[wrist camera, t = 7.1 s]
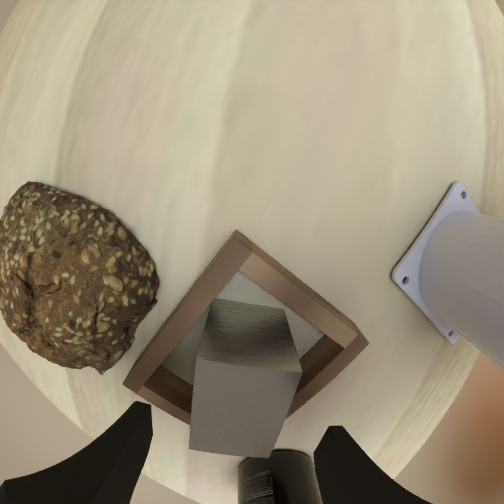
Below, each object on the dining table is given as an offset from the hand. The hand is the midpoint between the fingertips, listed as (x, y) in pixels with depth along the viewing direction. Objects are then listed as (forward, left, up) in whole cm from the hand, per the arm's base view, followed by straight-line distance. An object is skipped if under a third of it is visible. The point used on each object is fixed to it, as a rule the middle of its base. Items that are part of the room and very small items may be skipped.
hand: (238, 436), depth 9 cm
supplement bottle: (-11, +9, -7) cm, 16 cm away
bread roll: (+11, +5, -8) cm, 14 cm away
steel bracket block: (0, 0, -7) cm, 7 cm away
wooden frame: (0, 0, -7) cm, 7 cm away
